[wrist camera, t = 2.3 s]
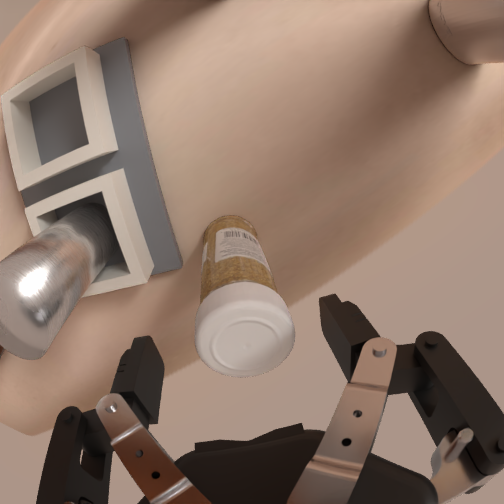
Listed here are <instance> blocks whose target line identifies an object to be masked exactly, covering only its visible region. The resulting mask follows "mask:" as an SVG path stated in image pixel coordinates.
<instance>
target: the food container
mask: <svg viewBox="0 0 504 504" xmlns="http://www.w3.org/2000/svg"><path fill="white" fill-rule="evenodd" d="M4 349H5V348H3V347H2V346H1V345H0V358H1V356H2V353H3V351H4Z"/></svg>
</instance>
